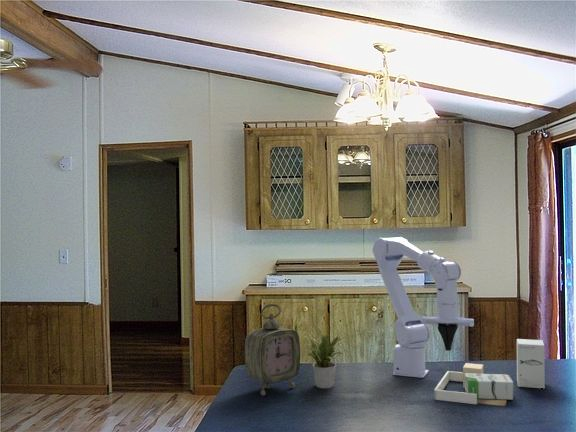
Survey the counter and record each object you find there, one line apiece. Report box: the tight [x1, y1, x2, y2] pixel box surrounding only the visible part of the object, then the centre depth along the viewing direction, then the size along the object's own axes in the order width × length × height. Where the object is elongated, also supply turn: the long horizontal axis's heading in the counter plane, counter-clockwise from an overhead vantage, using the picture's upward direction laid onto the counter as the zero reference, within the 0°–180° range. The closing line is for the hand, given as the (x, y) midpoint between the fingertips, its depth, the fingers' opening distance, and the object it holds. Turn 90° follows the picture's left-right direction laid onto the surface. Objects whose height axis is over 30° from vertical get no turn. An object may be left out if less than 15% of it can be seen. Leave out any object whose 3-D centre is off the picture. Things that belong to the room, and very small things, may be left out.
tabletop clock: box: [244, 303, 301, 397], centre depth 176 cm, size 14×9×25 cm, turn 130°
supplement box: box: [516, 338, 546, 390], centre depth 177 cm, size 7×7×13 cm
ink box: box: [464, 373, 514, 401], centre depth 167 cm, size 9×5×12 cm
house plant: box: [304, 330, 348, 389], centre depth 178 cm, size 14×14×16 cm
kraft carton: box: [462, 362, 484, 389], centre depth 176 cm, size 5×5×6 cm
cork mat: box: [477, 399, 508, 407], centre depth 165 cm, size 10×11×1 cm
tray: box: [433, 370, 478, 405], centre depth 172 cm, size 11×20×3 cm, turn 155°
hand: (448, 349), depth 177 cm, fingers closed
